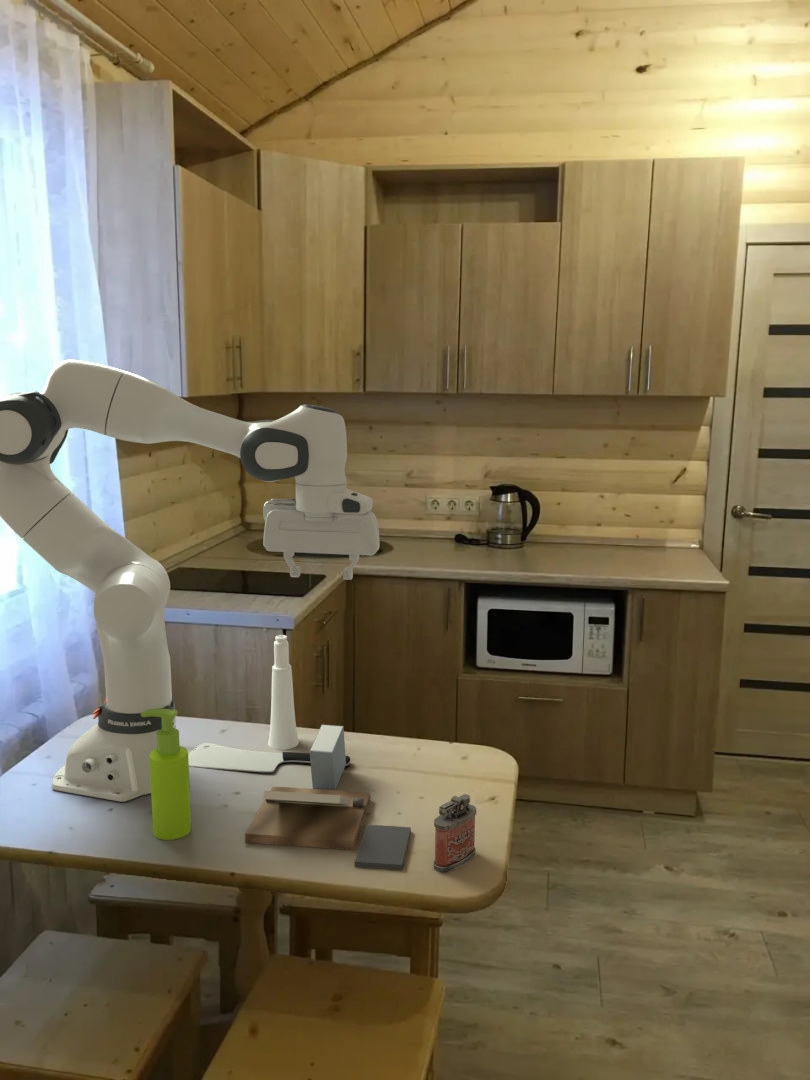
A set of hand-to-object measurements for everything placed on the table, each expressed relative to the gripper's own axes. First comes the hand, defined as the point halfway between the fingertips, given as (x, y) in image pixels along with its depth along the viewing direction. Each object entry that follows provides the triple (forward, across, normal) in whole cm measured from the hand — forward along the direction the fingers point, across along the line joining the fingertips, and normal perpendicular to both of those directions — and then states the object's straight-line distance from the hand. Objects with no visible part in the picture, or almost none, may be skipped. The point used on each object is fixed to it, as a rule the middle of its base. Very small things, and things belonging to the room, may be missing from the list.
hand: (321, 577), depth 157 cm
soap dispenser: (+36, -19, -25) cm, 48 cm away
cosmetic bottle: (+36, -10, +9) cm, 39 cm away
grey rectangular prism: (+32, +2, -9) cm, 33 cm away
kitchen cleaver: (+35, -11, -5) cm, 37 cm away
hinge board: (+36, +2, -19) cm, 41 cm away
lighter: (+36, +27, -28) cm, 53 cm away
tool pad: (+36, +16, -26) cm, 47 cm away
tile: (+34, +2, -16) cm, 37 cm away
